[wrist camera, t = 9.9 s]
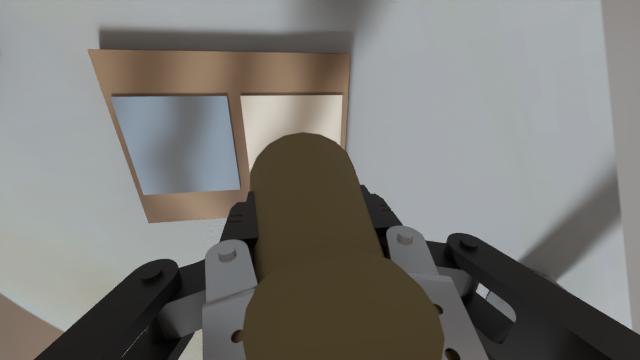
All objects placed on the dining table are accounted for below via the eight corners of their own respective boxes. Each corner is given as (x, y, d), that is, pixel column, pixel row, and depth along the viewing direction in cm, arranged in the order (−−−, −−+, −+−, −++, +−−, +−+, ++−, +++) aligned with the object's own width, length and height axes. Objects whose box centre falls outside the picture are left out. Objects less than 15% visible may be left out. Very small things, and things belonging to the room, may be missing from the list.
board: (346, 54, 20) (350, 53, 19) (339, 203, 26) (341, 210, 25) (99, 50, 17) (85, 49, 16) (154, 215, 23) (147, 224, 22)
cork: (242, 134, 12) (93, 416, 2) (358, 130, 13) (594, 332, 3) (255, 231, 15) (208, 557, 5) (351, 223, 16) (471, 491, 6)
